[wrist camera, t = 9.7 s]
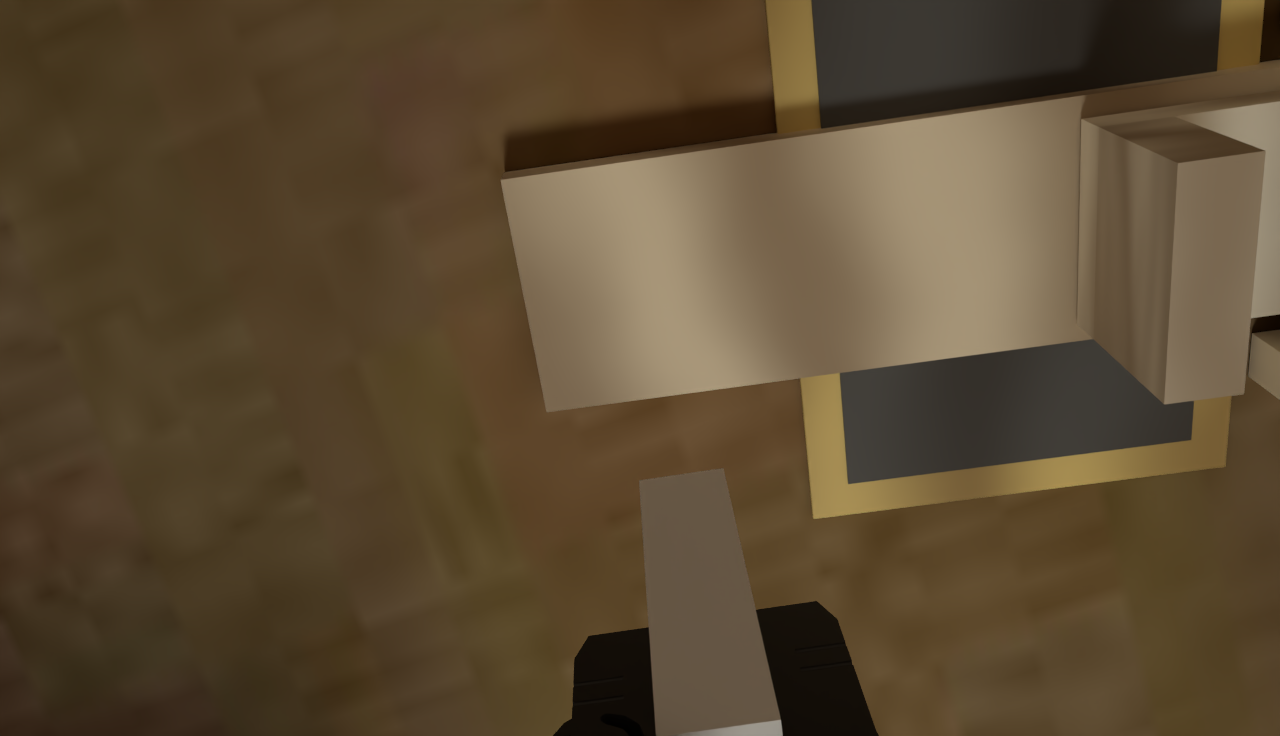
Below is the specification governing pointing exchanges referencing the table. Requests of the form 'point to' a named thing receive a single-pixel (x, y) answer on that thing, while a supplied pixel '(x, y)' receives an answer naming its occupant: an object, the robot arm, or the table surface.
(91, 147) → the table surface
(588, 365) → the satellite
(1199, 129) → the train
